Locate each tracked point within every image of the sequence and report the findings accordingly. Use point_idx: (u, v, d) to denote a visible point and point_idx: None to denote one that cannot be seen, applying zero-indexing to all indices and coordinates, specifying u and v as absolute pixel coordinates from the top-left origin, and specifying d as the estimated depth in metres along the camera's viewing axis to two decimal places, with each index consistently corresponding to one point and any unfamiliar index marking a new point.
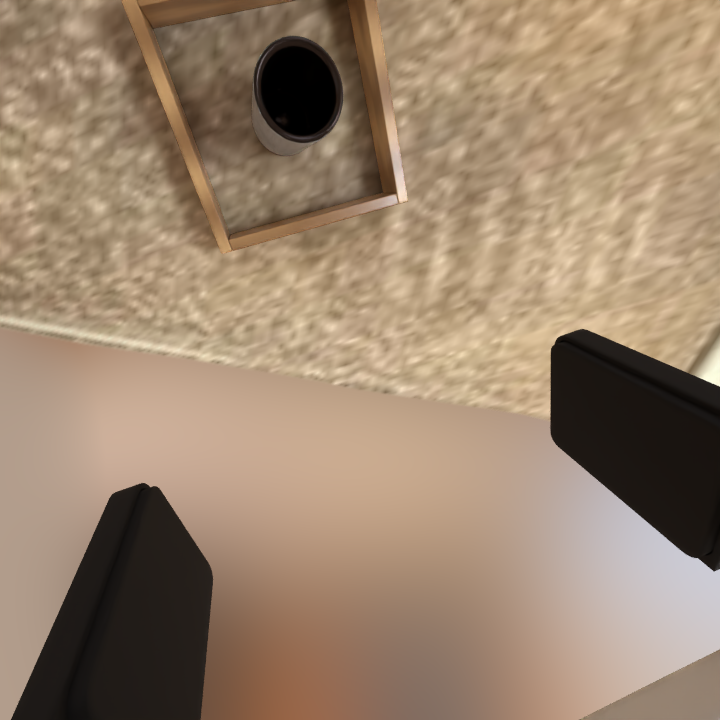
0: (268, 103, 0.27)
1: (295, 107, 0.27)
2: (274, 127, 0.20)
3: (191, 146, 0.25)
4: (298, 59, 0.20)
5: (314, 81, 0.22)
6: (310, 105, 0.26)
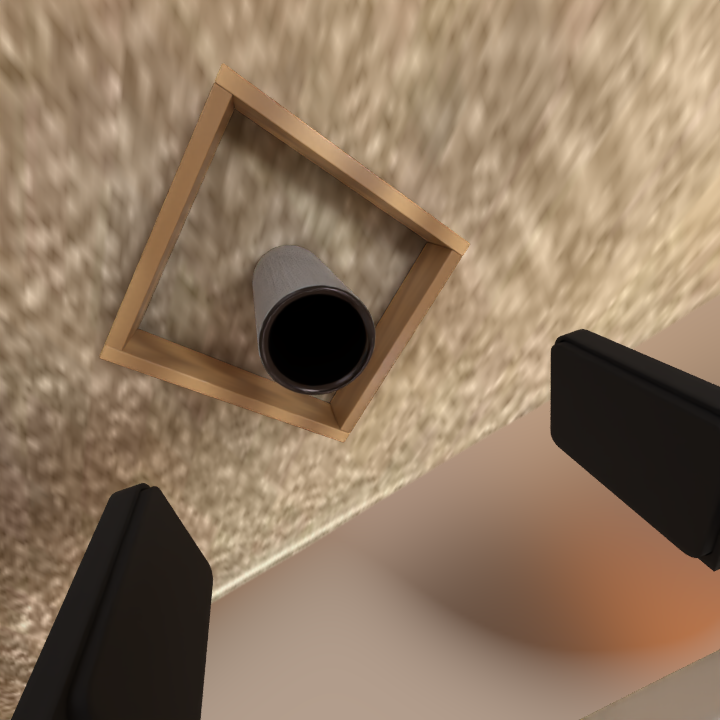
0: None
1: None
2: (325, 391, 0.15)
3: (252, 399, 0.22)
4: None
5: None
6: None
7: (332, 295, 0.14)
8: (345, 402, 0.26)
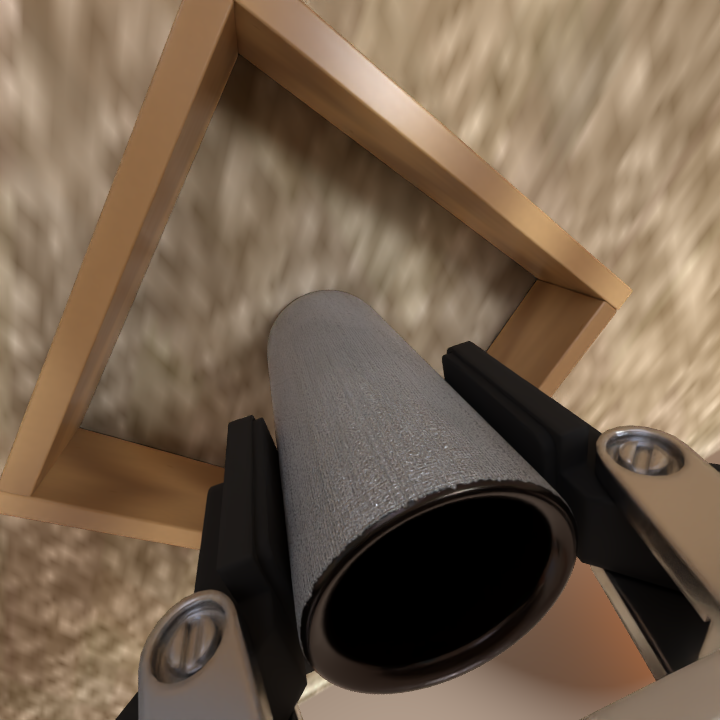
0: None
1: None
2: (447, 679, 0.07)
3: None
4: None
5: None
6: None
7: (500, 498, 0.05)
8: None
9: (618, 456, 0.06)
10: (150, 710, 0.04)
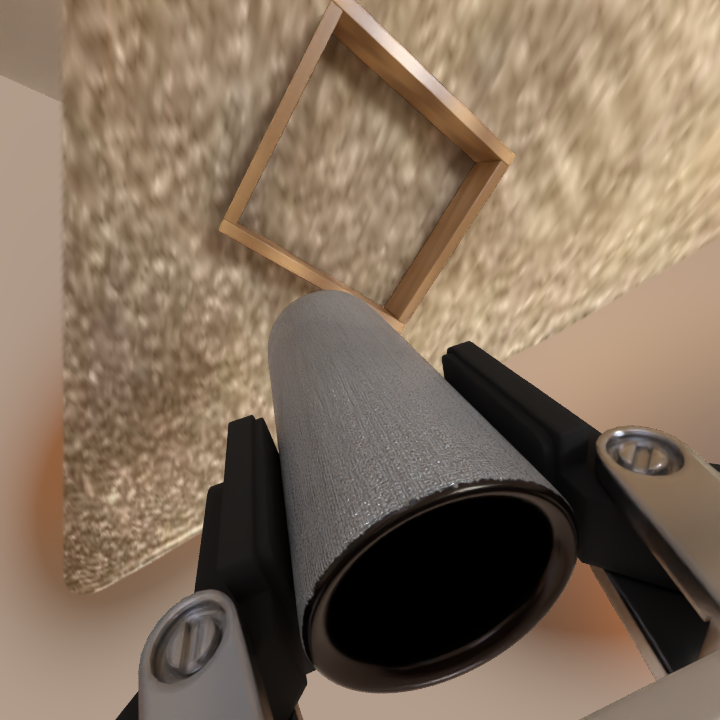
0: None
1: None
2: (448, 678, 0.07)
3: (330, 282, 0.27)
4: None
5: None
6: None
7: (501, 497, 0.05)
8: (401, 300, 0.30)
9: (618, 456, 0.06)
10: (150, 710, 0.04)
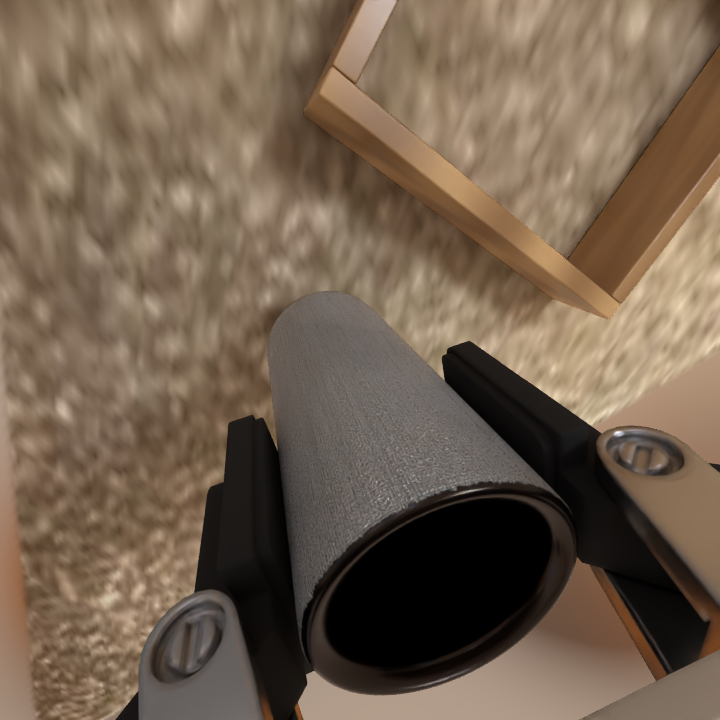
0: None
1: None
2: (447, 680, 0.07)
3: (517, 220, 0.14)
4: None
5: None
6: None
7: (500, 500, 0.05)
8: (606, 261, 0.17)
9: (618, 456, 0.06)
10: (150, 710, 0.04)
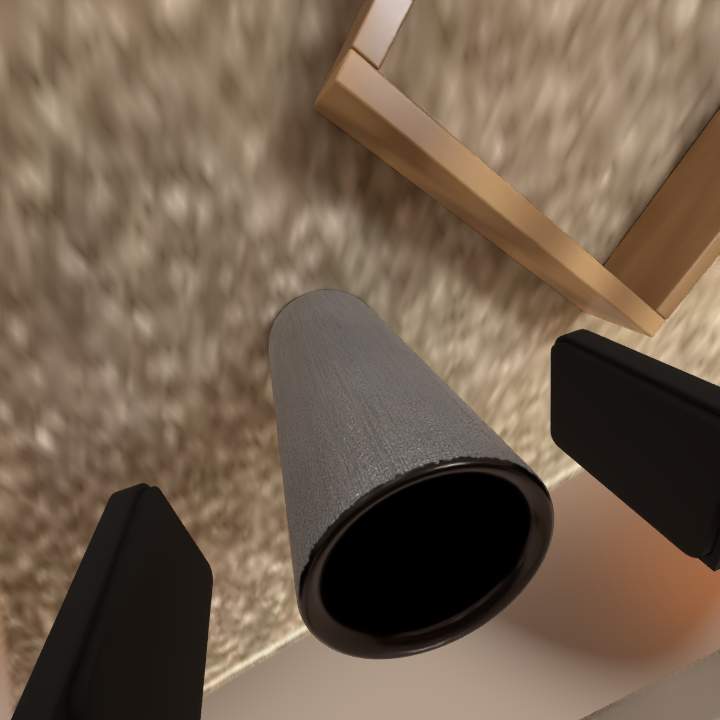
0: None
1: None
2: (435, 647, 0.07)
3: (557, 228, 0.12)
4: None
5: None
6: None
7: (479, 474, 0.06)
8: (648, 272, 0.15)
9: None
10: None
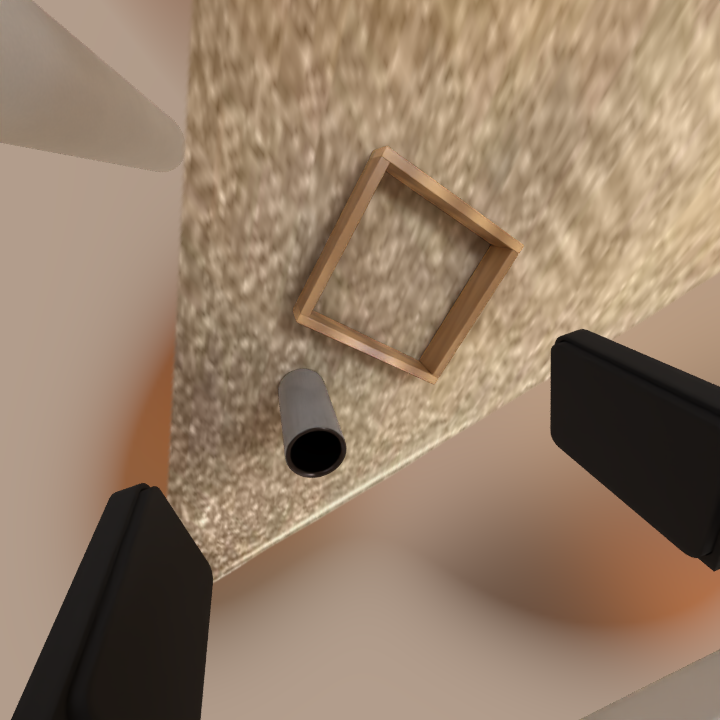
0: None
1: None
2: (320, 475, 0.29)
3: (379, 351, 0.34)
4: None
5: None
6: None
7: (322, 430, 0.28)
8: (434, 357, 0.37)
9: None
10: None
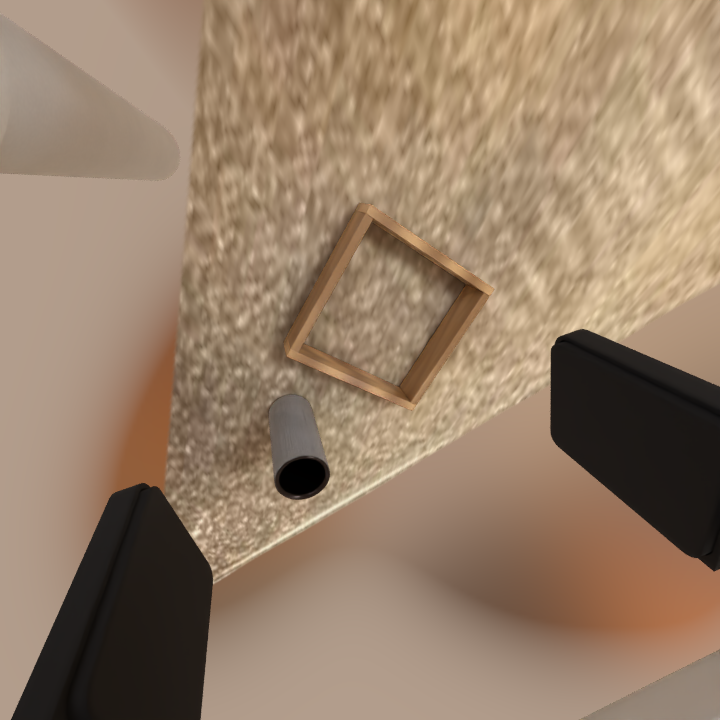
0: None
1: None
2: (306, 497, 0.32)
3: (362, 381, 0.37)
4: None
5: None
6: None
7: (308, 458, 0.31)
8: (412, 385, 0.40)
9: None
10: None
